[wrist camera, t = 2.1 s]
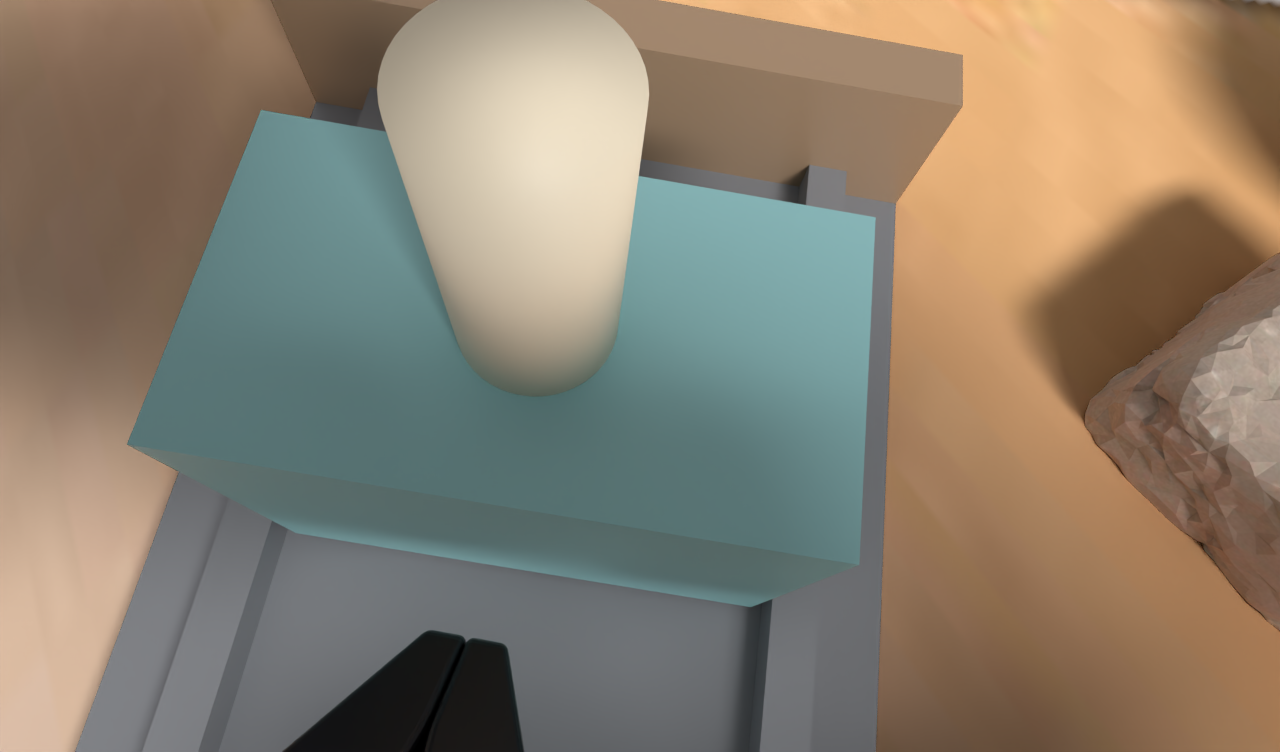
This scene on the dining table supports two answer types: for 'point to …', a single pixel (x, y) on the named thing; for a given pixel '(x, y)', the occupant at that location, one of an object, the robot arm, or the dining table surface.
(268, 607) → the track
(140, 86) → the dining table surface
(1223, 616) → the dining table surface
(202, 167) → the dining table surface
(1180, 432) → the brick
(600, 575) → the dowel block
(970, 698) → the dining table surface
